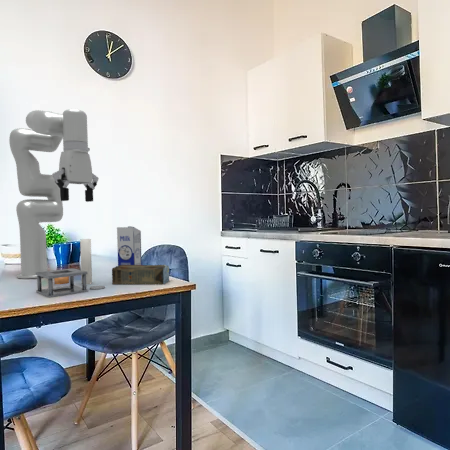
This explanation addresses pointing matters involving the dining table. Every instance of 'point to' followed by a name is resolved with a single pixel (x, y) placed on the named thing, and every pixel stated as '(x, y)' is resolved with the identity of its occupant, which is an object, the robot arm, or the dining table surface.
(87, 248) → the white tall block
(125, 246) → the milk carton
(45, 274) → the guard frame
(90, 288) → the mat
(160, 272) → the dark brown box
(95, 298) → the dining table surface
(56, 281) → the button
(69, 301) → the dining table surface
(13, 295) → the dining table surface
